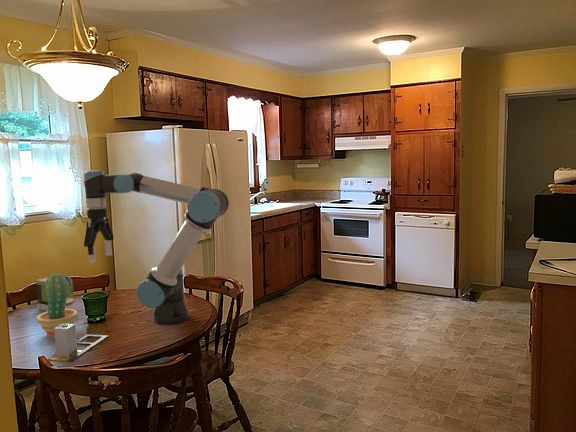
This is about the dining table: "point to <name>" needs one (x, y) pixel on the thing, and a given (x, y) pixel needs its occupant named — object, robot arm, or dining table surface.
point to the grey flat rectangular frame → (80, 352)
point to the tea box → (42, 294)
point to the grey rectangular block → (65, 341)
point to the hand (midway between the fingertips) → (101, 258)
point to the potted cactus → (56, 304)
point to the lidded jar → (69, 303)
